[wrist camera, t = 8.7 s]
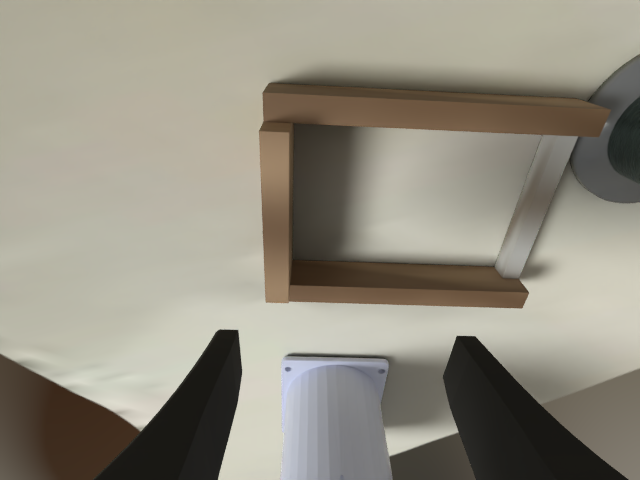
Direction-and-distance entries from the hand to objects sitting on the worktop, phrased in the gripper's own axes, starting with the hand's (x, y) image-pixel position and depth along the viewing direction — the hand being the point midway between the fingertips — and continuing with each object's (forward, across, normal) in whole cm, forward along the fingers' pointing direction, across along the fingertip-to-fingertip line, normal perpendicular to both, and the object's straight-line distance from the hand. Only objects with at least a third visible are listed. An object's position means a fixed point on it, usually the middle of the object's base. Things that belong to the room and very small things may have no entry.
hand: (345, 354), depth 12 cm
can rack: (+10, -4, -1) cm, 11 cm away
